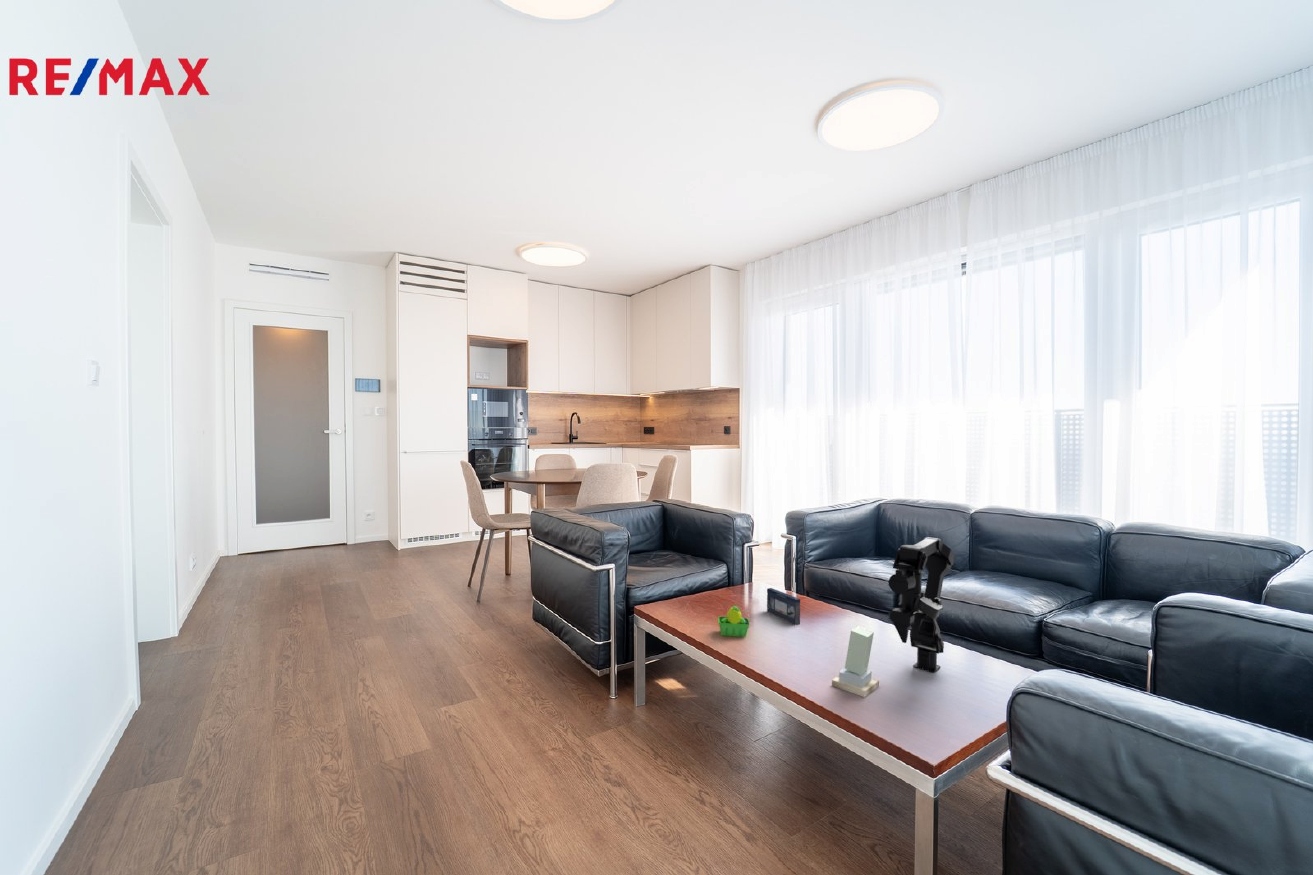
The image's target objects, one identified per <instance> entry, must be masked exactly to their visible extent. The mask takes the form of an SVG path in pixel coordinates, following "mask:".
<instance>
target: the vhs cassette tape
mask: <svg viewBox="0 0 1313 875" xmlns="http://www.w3.org/2000/svg"><path fill="white" fill-rule="evenodd" d="M766 594H767V595H766V611H767V613H770V614H771V615H773V614H774V616H776V617H778V618H780V619H783V620H784V621H786V622H788V623H791V624H793V625H800V624H801V599H800V598H798V597H796V596H793V595H791V594H788V593H786V592H783V591H781V590H778V589H775V588H772V587H768V588H766Z"/></svg>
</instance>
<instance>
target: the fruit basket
mask: <svg viewBox="0 0 1313 875" xmlns="http://www.w3.org/2000/svg"><path fill="white" fill-rule="evenodd" d="M717 618H718V622H717V623H718V625H719V631H720V634H721V636H727V637H741V638H742V637H743V638H745V637H747V633H748V630H749V627H750V620H749V618H748V617H743V616H742V612H741V610H740V609H739V608H738V606H735V605H734V606H731V607H730V608H729V610H728V611H727V613H726V616H718V617H717Z"/></svg>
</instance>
